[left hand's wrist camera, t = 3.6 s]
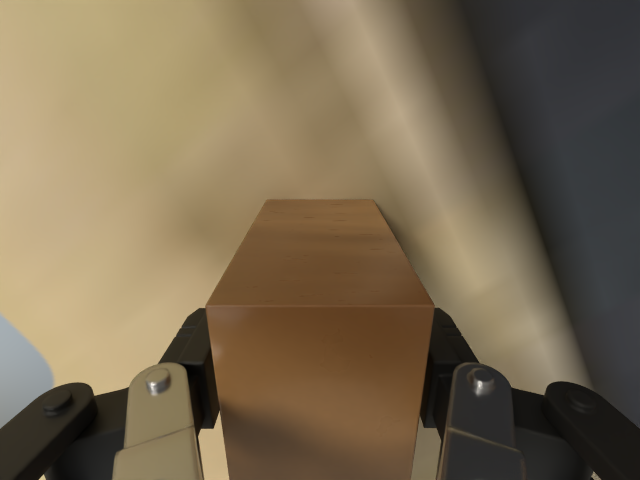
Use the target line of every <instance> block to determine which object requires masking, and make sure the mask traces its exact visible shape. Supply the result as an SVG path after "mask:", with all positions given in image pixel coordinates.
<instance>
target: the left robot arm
mask: <svg viewBox="0 0 640 480" xmlns="http://www.w3.org/2000/svg"><path fill="white" fill-rule="evenodd" d="M219 411H220V408H219V401H218V393H217V386H216V379H215V372H214V365H213V358H212V350H211V343H210V336H209V329H208V322H207V314H206V308H199V309H197V310H196V311H195V312H193V313H192V314H191V315H189V316H188V317H187V319H186V320H185V322H184V324H183V325H182V328H181V329H180V330H179V331H178V333H177V335H176V337H175V338H174V339H173V341H172V342H171V344H170V346H169V347H168V349H167V350H166V352H165V353H164V355H163V357H162V358H161V360H160V361H159V363H158V364H157V365H153V366H151V367H149V368H147V369H145V370H143V371H142V372H140V373H139V374H138V375H137V376H136V377H135V378H134V379H133V380H132V382H131V384H130V386H129V387H128V388H125V389H121V390H118V391H113V392H109V393H105V394H101V395H96V396H94V393H93V390H92V388H91V387H90V386H89V385H88V384H85V383H69V384H65V385H61V386H58V387H56V388H53V389H51V390H49V391H47V392H46V393H44V394H42V395H41V396H39V397H38V398H36V399H35V400H34V401H33V402H31V403H30V404H29V405H28V406H27V407H26V408H24V409H23V410H22V411H21V412H20V413H18V414H17V415H16V416H15V417H14V418H13V419H11V420H10V421H9V422H8V423H7V424H6V425H4V426H3V427H2V428H1V429H0V480H39V479H40V478H41V476H42V475H43V474H44V476H45V478H46V480H204V473H203V466H202V459H201V452H200V445H199V439H198V435H199V432H200V430H201V429H214V426H215V423H216V420H217V417H218V414H219ZM420 416H421V420H422V423H423V426H424V428H437V430H438V433H439V436H440V438H441V445H440V452H439V459H438V466H437V473H436V480H594V479H593V478H592V477H591V476H592V473H593V471H594V472H595V473H596V474H597V475H598V476H599V478H600V479H601V480H640V429H639V428H638V427H637V426H636V425H635V424H633V423H632V422H631V421H630V420H629V419H627V418H626V417H625V416H624V415H623V414H622V413H620V412H619V411H618V410H617V409H616V408H614V407H613V406H612V405H611V404H610V403H609V402H607V401H606V400H605V399H604V398H602V397H601V396H600V395H598V394H597V393H595V392H594V391H592V390H590V389H588V388H586V387H583V386H581V385H578V384H574V383H570V382H562V381H560V382H553V383H551V384H549V385H548V387H547V388H546V392H545V395H540V394H536V393H531V392H527V391H523V390H519V389H515V388H512V387H511V386H510V384H509V382H508V380H507V379H506V378H505V377H504V376H503V375H502V374H501V373H500V372H498V371H497V370H495V369H493V368H491V367H489V366H487V365H483V364H480V363H479V361H478V360H477V358H476V357H475V355H474V353H473V352H472V350H471V349H470V347H469V345H468V344H467V342H466V341H465V339H464V337H463V336H461V333H460V331H459V330H458V328H456V325H455V323H454V322H453V320H452V318H451V317H450V316H449V315H448V314H447V313H445V312H444V311H443V310H441V309H440V308H435V309H434V316H433V323H432V330H431V337H430V344H429V352H428V359H427V366H426V373H425V380H424V387H423V394H422V402H421V409H420Z"/></svg>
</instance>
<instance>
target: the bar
mask: <svg viewBox="0 0 640 480" xmlns="http://www.w3.org/2000/svg"><path fill="white" fill-rule="evenodd" d="M205 307H206V314H207V322H208V329H209V336H210V343H211V350H212V358H213V365H214V372H215V379H216V386H217V393H218V401H219V408H220V415H221V422H222V429H223V436H224V444H225V451H226V458H227V465H228V472H229V479H230V480H411V473H412V466H413V459H414V452H415V444H416V437H417V430H418V423H419V416H420V409H421V402H422V394H423V387H424V380H425V373H426V366H427V359H428V352H429V344H430V337H431V330H432V323H433V316H434V309H435V305H434V303H433V302H432V300H431V298H430V296H429V295H428V293H427V291H426V290H425V288H424V286H423V284H422V283H421V281H420V279H419V278H418V276H417V274H416V272H415V271H414V269H413V267H412V266H411V264H410V262H409V260H408V259H407V257H406V255H405V253H404V252H403V250H402V248H401V247H400V245H399V243H398V241H397V240H396V238H395V236H394V235H393V233H392V231H391V229H390V228H389V226H388V224H387V223H386V221H385V219H384V217H383V216H382V214H381V212H380V211H379V209H378V207H377V205H376V204H375V202H374V200H266V202H265V204H264V205H263V207H262V209H261V211H260V212H259V214H258V216H257V218H256V219H255V221H254V223H253V224H252V226H251V228H250V230H249V231H248V233H247V235H246V236H245V238H244V240H243V242H242V243H241V245H240V247H239V249H238V250H237V252H236V254H235V255H234V257H233V259H232V261H231V262H230V264H229V266H228V267H227V269H226V271H225V273H224V274H223V276H222V278H221V279H220V281H219V283H218V285H217V286H216V288H215V290H214V292H213V293H212V295H211V297H210V298H209V300H208V302H207V304H206V306H205Z"/></svg>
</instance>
